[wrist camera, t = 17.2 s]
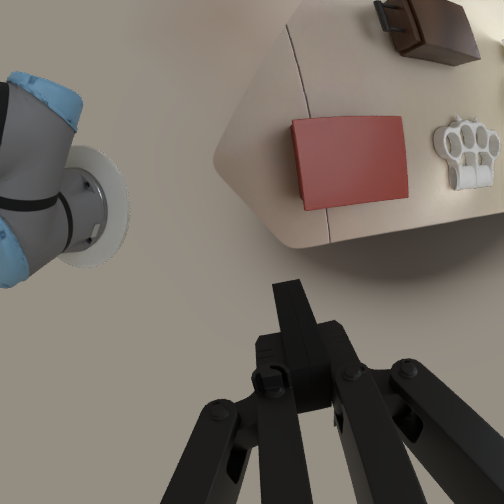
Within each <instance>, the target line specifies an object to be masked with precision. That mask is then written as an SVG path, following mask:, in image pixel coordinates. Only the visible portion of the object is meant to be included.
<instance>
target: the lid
mask: <svg viewBox="0 0 504 504" xmlns="http://www.w3.org/2000/svg"><path fill="white" fill-rule="evenodd" d="M292 125H293V132H294V138H295V144H296V151H297V158H298V165H299V172H300V180H301V188H302V196H303V204H304V210H305V211H309V210H316V209H323V208H330V207H337V206H345V205H352V204H360V203H368V202H376V201H384V200H393V199H401V198H408V197H409V196H408V175H407V161H406V150H405V141H404V132H403V125H402V118H401V116H342V117H322V118H308V119H297V120H292Z"/></svg>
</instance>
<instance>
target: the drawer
mask: <svg viewBox="0 0 504 504" xmlns="http://www.w3.org/2000/svg"><path fill="white" fill-rule="evenodd" d="M373 3H374V6H375V8H376V11H377V14H378V17H379V20H380V23H381V26H382V29H383V31H384V32H390V31H391V32H392V36H393V39H394V42H395V46H396V50H397V51H399V52H403V51H405V50H407V49H409V48H410V47H412V46H414V45H416V44H418V43H420V42H422V37H421V34H420V31H419V28H418V25H417V22H416V19H415V17H414V14H413V11H412V9H411V6H410V3H409V1H408V0H387V1H386V2H385V3H382V2H381V1H379V0H376V1H374V2H373Z"/></svg>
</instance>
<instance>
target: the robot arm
mask: <svg viewBox="0 0 504 504" xmlns="http://www.w3.org/2000/svg"><path fill="white" fill-rule="evenodd" d="M82 108H83V102H82V99H81V97H80V96H79V95H78V94H77V93H76V92H74V91H72V90H70V89H68V88H66V87H64V86H62V85H59V84H57V83H55V82H52V81H49V80H47V79H44V78H40V77H36V76H33V75H30V74H27V73H23V72H18V71H17V72H12V73H11V74H10V76H9V77H8V78H7V83H5V82H0V288H11V287H13V286H15V285H16V284H18V283H19V282H21V281H24V280H26V279H28V277H29V276H31V275H32V274H34V273H35V272H36V271H38V270H39V269H40V268H42V267H43V266H44V265H46V264H47V263H49V262H50V261H51V260H53V259H54V258H55V257H57V256H58V255H60V254H61V253H73V252H80V251H84V250H86V249H88V248H89V247H91V246H92V245H94V244H95V243H96V242H97V241H98V240H99V239H100V238H101V236H102V234H103V232H104V230H105V227H106V224H107V218H108V206H107V200H106V196H105V193H104V191H103V188H102V186H101V185H100V183H99V182H98V180H97V179H96V178H95V177H94V176H93V175H92V174H91V173H90V172H88V171H87V170H84V169H82V168H78V167H71V168H65V165H66V161H67V158H68V154H69V150H70V147H71V144H72V140H73V137H74V134H75V133H76V132H77V124H78V121H79V117H80V114H81V111H82ZM272 287H273V292H274V298H275V304H276V309H277V314H278V320H279V326H280V331H281V332H278V333H273V334H267V335H261V336H259V338H258V339H257V341H256V343H255V346H256V347H255V348H256V366H257V368H256V370H255V371H254V372H253V373H252V377H251V380H252V383H253V386H254V390H255V391H254V392H253V393H252V394H251V395H250V396H249V397H247V398H245V399H243V400H241V401H238V402H236V403H233V402H232V401H230V400H226V399H217V400H214V401H211V402H210V403H208V404H207V405H205V407H204V408H203V410H202V411H201V413H200V416H199V418H198V420H197V423H196V425H195V427H194V430H193V432H192V434H191V436H190V439H189V441H188V443H187V446H186V448H185V450H184V452H183V454H182V456H181V459H180V461H179V463H178V465H177V468H176V470H175V472H174V474H173V476H172V478H171V481H170V483H169V485H168V487H167V490H166V492H165V494H164V496H163V498H162V500H161V503H160V504H236V502H237V499H238V495H239V492H240V489H241V486H242V482H243V479H244V475H245V471H246V468H247V465H248V461H249V457H250V454H251V450H252V448H253V447H255V446H257V445H258V447H259V448H258V449H259V468H260V487H261V504H313V501H312V494H311V488H310V482H309V477H308V471H307V465H306V459H305V453H304V449H303V442H302V437H301V431H300V425H299V420H298V415H297V414H299V413H304V412H309V411H314V410H319V409H323V408H328V407H331V406H332V404H333V407H334V426H337V429H338V432H339V436H340V440H341V443H342V446H343V450H344V454H345V458H346V461H347V465H348V469H349V473H350V477H351V480H352V484H353V488H354V492H355V496H356V500H357V504H427V502H426V499H425V496H424V494H423V491H422V488H421V486H420V483H419V481H418V478H417V476H416V473H415V471H414V468H413V466H412V463H411V461H410V458H409V456H408V454H407V451H406V449H405V446H404V444H403V442H404V443H405V445H406V446H407V447H408V448H409V449H410V451H411V452H412V453H413V454H414V455H415V457H416V458H417V459H418V460H419V461H420V463H421V464H422V465H423V466H424V468H425V469H426V470H427V471H428V472H429V473H430V475H431V476H432V477H433V478H434V480H435V481H436V482H437V483H438V484H439V486H440V487H441V488H442V489H443V490H444V492H445V493H446V494H447V495H448V496H449V497H450V499H451V500H452V501H453V502H454V504H504V438H503V437H502V436H500V435H499V433H498V432H496V431H495V430H494V429H493V428H492V427H491V426H490V425H489V424H488V423H487V422H486V421H485V420H484V419H483V418H482V417H480V416H479V415H478V414H477V413H476V412H475V411H474V410H473V409H472V408H471V407H470V406H468V405H467V404H466V403H465V402H464V401H463V400H462V399H461V398H459V396H457V395H456V394H455V393H454V392H453V391H452V390H451V389H450V388H449V387H447V386H446V385H445V384H444V383H443V382H442V381H441V380H440V379H438V378H437V377H436V376H435V375H434V374H433V373H431V372H430V371H429V370H428V369H427V368H426V367H425V366H423V365H422V364H421V363H420V362H418V361H417V360H414V359H410V358H409V359H401V360H399V361H397V362H396V363H394V364H393V366H392V368H391V369H387V370H374V369H370V368H368V367H367V366H366V365H365V364H363V363H361V362H360V360H359V358H358V357H357V355H356V352H355V350H354V348H353V346H352V344H351V342H350V340H349V338H348V336H347V334H346V332H345V330H344V328H343V326H342V325H341V324H339V323H338V322H337V321H335V320H333V321H328V322H324V323H319V324H317V323H316V320H315V317H314V315H313V312H312V310H311V307H310V304H309V302H308V299H307V297H306V294H305V292H304V289H303V287H302V284H301V282H300V279H296V280H291V281H286V282H281V283H276V284H272ZM402 441H403V442H402Z"/></svg>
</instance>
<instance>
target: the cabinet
mask: <svg viewBox="0 0 504 504" xmlns="http://www.w3.org/2000/svg"><path fill="white" fill-rule="evenodd" d="M408 1H409V3H410V6H411V9H412V11H413V14H414V17H415V19H416V22H417V25H418V28H419V31H420V34H421V37H422V42H420V43H418V44H416V45H414V46H412V47H410V48H409V49H407V50H405V51H403V52H400V53H401V56H403V57H410V58H416V59H422V60H427V61H432V62H437V63H442V64H446V65H450V66H457V65H461V64H464V63H468V62H472V61H476V60H480V59H481V58H480V54H479V51H478V48H477V45H476V41H475V38H474V35H473V33H472V30H471V27H470V24H469V22H468V19H467V17H466V14H465V12H464V9H463V7H462V6H460V5H458V4H455V3H453V2H450V1H447V0H408Z"/></svg>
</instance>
